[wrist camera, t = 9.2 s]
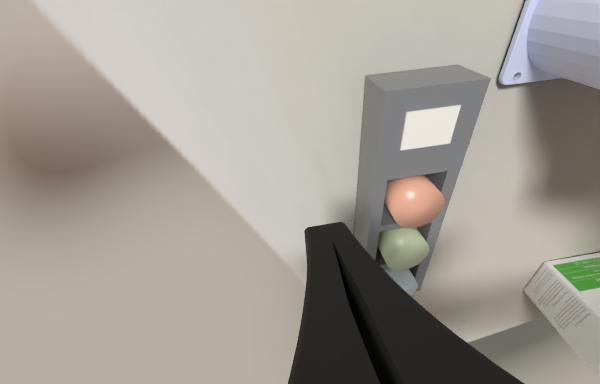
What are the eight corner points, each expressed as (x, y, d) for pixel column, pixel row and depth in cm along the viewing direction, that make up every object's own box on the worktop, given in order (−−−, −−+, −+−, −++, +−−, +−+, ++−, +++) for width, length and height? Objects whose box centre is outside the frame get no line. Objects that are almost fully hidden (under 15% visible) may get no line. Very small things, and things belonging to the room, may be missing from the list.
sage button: (414, 210, 24) (433, 236, 21) (407, 239, 26) (424, 266, 23) (374, 217, 23) (389, 244, 21) (370, 245, 26) (383, 273, 23)
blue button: (405, 249, 27) (421, 275, 24) (399, 271, 29) (413, 298, 26) (369, 255, 26) (381, 282, 24) (366, 278, 28) (377, 305, 26)
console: (457, 64, 18) (492, 78, 15) (405, 265, 30) (420, 291, 28) (365, 75, 17) (385, 92, 15) (350, 275, 30) (360, 302, 27)
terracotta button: (426, 161, 21) (450, 185, 18) (417, 198, 23) (437, 224, 21) (380, 168, 20) (398, 193, 18) (375, 205, 23) (391, 232, 20)
